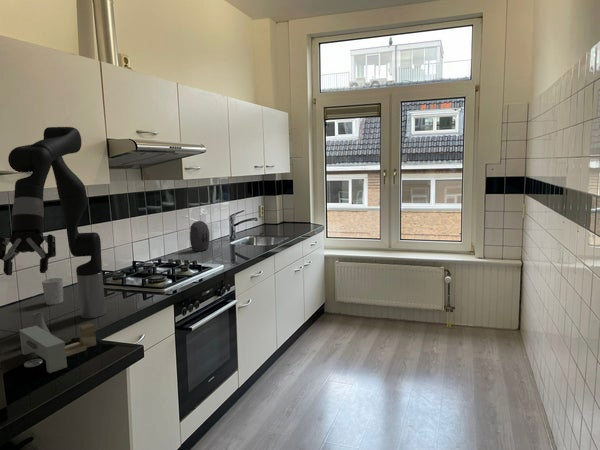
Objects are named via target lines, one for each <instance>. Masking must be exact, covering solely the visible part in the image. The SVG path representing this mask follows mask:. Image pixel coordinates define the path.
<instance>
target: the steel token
mask: <svg viewBox="0 0 600 450" xmlns="http://www.w3.org/2000/svg"><path fill="white" fill-rule="evenodd" d="M43 360H44V359H43V358H34V359H33V358H32V359H29V360H27V361H25V362H24V363H23V366H24V367H25V368H35V367H38V366H40V365H41V364H43V363H44V362H43Z"/></svg>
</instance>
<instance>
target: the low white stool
mask: <svg viewBox="0 0 600 450" xmlns="http://www.w3.org/2000/svg"><path fill="white" fill-rule="evenodd" d="M18 332H19V338H20V346H21V347H20V348H21V354H22V355H24V356H26V355H29V354H34V353H35V354H36V355H38V356H39V357H40V358H41V359H42V360H44V361H45V364H46V372H47V373H49V374H51V373H54V372H57V371H60V370H63V369H66V368H68V362H67V357H66V350H65V346H66V342H65V341H64V340H62V339H60V338H59V337H57V336H55V335H54V334H52V333H51V332H50V333H51V334H50V333H48V332H47V331H45V330H43V329H41V328H40V327H38V326H34V325H33V326H28V327H24V328H21V329H19V330H18Z"/></svg>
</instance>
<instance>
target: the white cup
mask: <svg viewBox="0 0 600 450" xmlns="http://www.w3.org/2000/svg"><path fill="white" fill-rule="evenodd" d="M41 284H42V290H43V296H44V300H45V304H46V305H47V306H49V305H50V306H52V305H57V304H62V303H63V302H64V282H63V278H62V277H54V278H53V277H52V278H47V279H43V280H42V281H41Z"/></svg>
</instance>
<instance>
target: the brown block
mask: <svg viewBox="0 0 600 450" xmlns="http://www.w3.org/2000/svg"><path fill="white" fill-rule="evenodd" d="M95 327H96V326H95V324H93V323H91V322H90V323H85V324H82V325H78V335H79V341H77V342H73V343H70V344H67V345H65V350H66V358H67V357H70V356H72V355H75V354H79V353H82V352H84V351H87V350H88V348H91V347H94V346H97V338H96V336H97V335H96V328H95Z"/></svg>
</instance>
